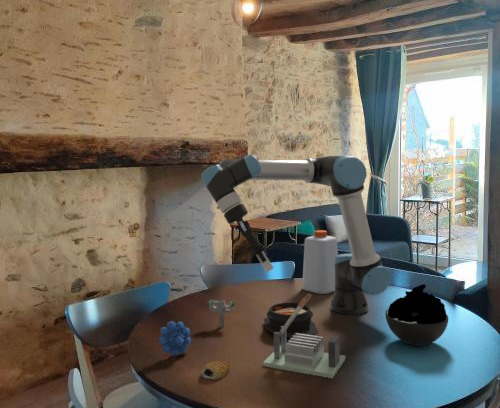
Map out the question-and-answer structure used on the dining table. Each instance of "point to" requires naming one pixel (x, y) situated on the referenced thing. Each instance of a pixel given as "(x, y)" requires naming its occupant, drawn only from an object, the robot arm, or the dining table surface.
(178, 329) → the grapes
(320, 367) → the circuit board
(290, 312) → the casserole
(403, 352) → the dining table surface
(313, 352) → the heat sink
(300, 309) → the retention strap
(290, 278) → the dining table surface
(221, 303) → the mechanical component
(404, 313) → the coal bowl
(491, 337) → the dining table surface
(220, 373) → the pastry
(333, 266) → the plastic bottle
